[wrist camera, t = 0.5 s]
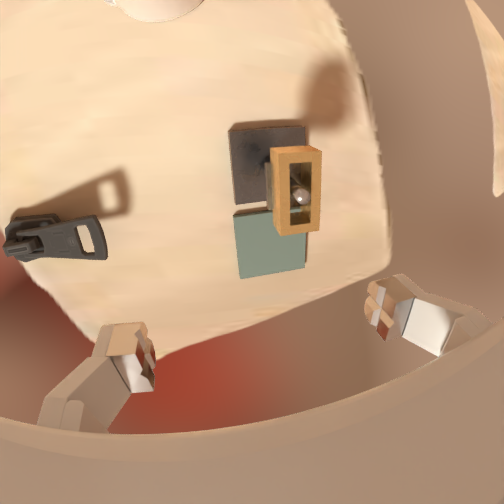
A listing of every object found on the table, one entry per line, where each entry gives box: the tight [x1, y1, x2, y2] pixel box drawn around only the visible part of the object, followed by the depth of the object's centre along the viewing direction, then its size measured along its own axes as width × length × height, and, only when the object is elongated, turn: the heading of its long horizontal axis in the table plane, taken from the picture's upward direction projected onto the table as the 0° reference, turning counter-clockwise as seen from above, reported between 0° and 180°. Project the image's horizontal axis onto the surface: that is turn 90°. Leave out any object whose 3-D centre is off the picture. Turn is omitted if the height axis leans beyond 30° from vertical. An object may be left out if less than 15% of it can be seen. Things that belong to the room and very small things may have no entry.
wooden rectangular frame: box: [270, 145, 322, 236], centre depth 32 cm, size 10×5×4 cm, turn 3°
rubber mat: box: [233, 206, 306, 279], centre depth 51 cm, size 13×13×1 cm
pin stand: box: [228, 126, 311, 210], centre depth 37 cm, size 12×12×16 cm
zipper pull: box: [3, 214, 108, 262], centre depth 39 cm, size 9×7×25 cm
